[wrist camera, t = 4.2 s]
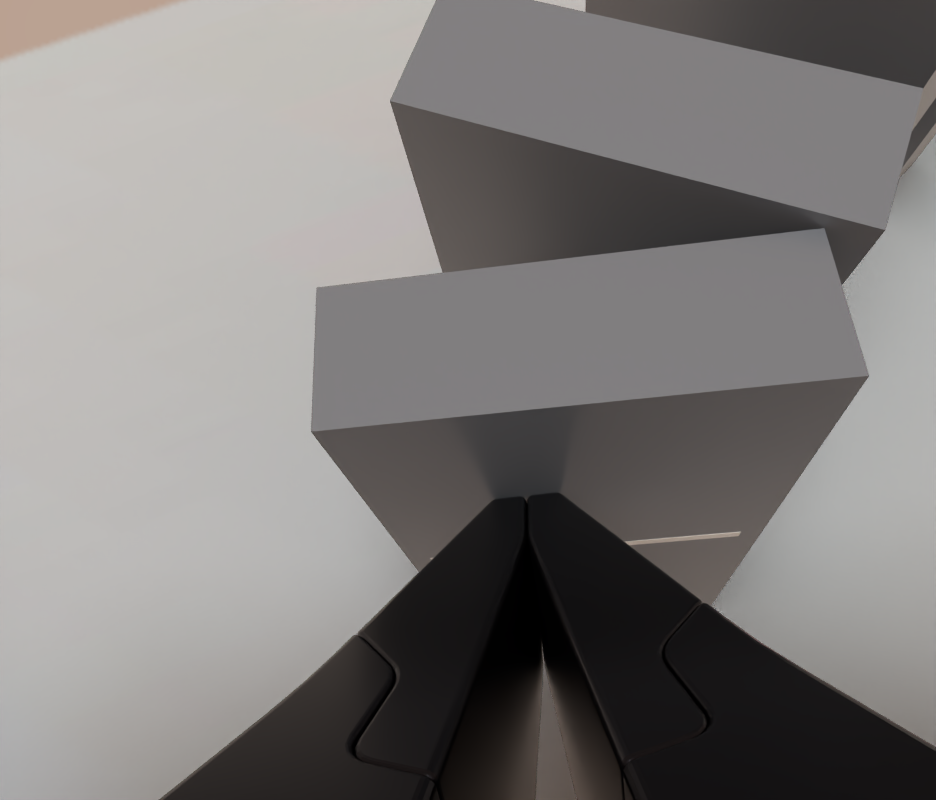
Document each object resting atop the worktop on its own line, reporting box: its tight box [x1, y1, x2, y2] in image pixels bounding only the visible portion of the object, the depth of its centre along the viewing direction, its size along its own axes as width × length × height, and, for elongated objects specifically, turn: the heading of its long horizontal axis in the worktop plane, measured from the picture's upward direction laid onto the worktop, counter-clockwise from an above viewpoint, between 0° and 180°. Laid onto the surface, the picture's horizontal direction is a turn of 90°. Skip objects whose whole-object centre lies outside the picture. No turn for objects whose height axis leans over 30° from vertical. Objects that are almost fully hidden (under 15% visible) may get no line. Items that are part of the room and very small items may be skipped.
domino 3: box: [586, 0, 936, 131], centre depth 13 cm, size 2×5×10 cm, turn 47°
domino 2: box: [311, 228, 869, 606], centre depth 12 cm, size 2×5×10 cm, turn 94°
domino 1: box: [390, 0, 923, 285], centre depth 13 cm, size 2×5×10 cm, turn 69°
